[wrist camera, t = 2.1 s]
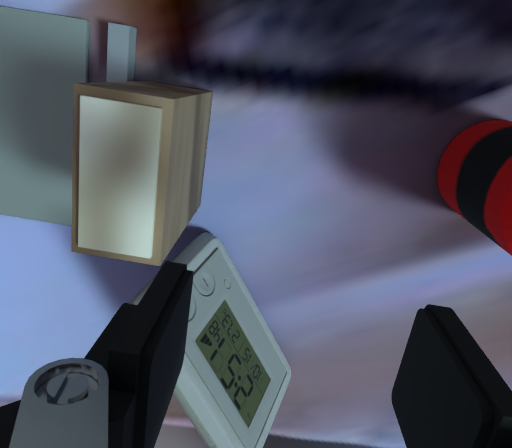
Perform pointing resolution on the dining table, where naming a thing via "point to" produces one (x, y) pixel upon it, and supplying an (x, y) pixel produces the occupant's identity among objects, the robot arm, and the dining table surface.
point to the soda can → (481, 179)
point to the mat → (39, 111)
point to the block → (136, 166)
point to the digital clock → (226, 353)
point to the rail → (121, 53)
